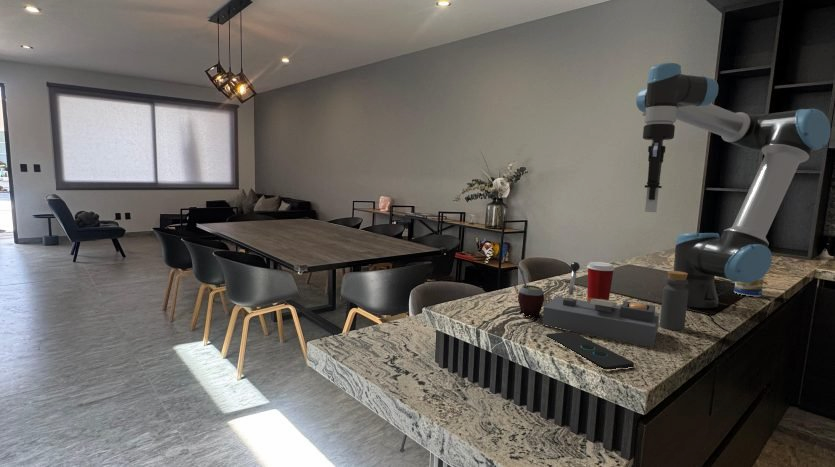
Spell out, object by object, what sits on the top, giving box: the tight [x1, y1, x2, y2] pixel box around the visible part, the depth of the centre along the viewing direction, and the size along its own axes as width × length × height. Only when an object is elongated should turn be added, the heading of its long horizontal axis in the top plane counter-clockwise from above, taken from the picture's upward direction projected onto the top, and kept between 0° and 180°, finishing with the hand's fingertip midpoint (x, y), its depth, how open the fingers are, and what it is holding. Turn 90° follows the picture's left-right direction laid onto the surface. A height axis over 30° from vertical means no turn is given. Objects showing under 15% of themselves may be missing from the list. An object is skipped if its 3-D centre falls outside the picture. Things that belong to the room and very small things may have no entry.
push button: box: [629, 302, 648, 310], centre depth 115 cm, size 4×4×2 cm
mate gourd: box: [512, 262, 545, 318], centre depth 129 cm, size 8×8×15 cm
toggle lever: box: [568, 261, 581, 296], centre depth 124 cm, size 2×2×9 cm
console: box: [542, 296, 660, 349], centre depth 119 cm, size 14×26×8 cm, turn 59°
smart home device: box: [545, 331, 635, 369], centre depth 103 cm, size 8×2×20 cm
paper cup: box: [586, 261, 615, 302], centre depth 137 cm, size 8×8×14 cm
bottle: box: [659, 270, 688, 331], centre depth 123 cm, size 6×6×15 cm
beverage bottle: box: [733, 275, 765, 298], centre depth 165 cm, size 8×8×20 cm
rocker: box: [590, 299, 618, 307], centre depth 119 cm, size 10×5×1 cm, turn 149°
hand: (650, 211), depth 127 cm, fingers closed
